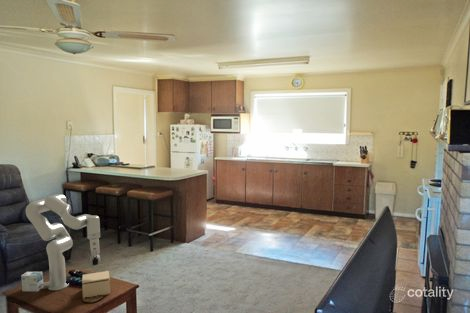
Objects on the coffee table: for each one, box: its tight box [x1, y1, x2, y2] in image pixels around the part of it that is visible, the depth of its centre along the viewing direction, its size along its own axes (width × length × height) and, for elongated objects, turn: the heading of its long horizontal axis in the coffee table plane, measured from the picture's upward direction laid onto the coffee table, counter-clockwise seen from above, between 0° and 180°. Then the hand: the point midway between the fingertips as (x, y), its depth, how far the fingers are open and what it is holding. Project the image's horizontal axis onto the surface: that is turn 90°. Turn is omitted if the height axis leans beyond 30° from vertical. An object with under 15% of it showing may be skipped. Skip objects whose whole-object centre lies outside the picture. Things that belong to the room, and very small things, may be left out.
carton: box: [81, 278, 111, 299], centre depth 231 cm, size 16×14×9 cm
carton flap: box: [81, 270, 111, 283], centre depth 231 cm, size 16×14×1 cm
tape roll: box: [89, 254, 101, 267], centre depth 230 cm, size 6×6×5 cm
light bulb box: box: [20, 271, 45, 292], centre depth 236 cm, size 11×7×11 cm, turn 87°
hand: (95, 262), depth 230 cm, fingers closed on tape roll, 6 cm apart
